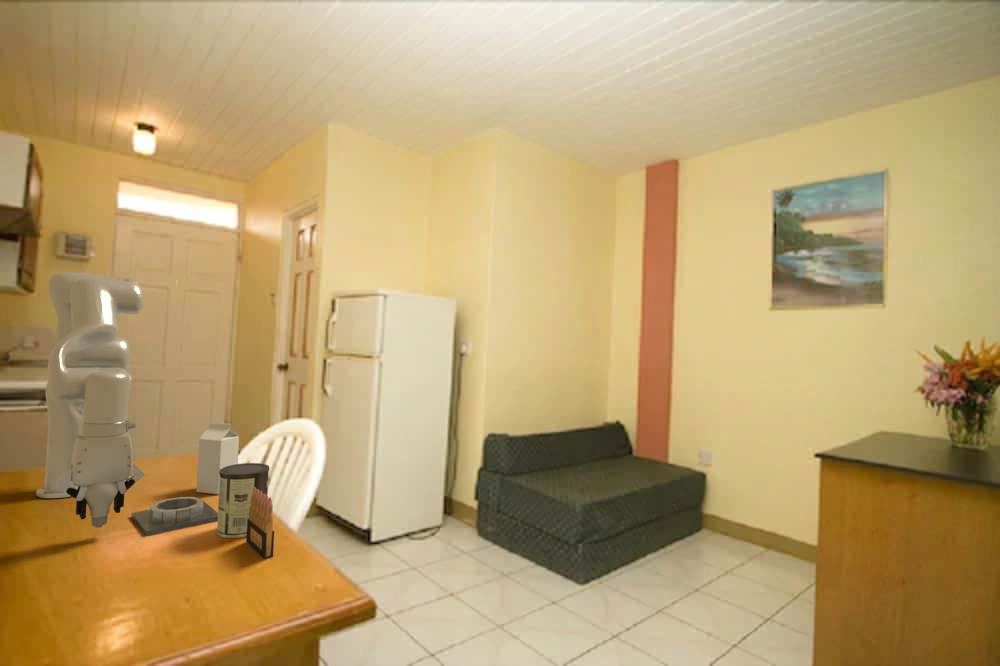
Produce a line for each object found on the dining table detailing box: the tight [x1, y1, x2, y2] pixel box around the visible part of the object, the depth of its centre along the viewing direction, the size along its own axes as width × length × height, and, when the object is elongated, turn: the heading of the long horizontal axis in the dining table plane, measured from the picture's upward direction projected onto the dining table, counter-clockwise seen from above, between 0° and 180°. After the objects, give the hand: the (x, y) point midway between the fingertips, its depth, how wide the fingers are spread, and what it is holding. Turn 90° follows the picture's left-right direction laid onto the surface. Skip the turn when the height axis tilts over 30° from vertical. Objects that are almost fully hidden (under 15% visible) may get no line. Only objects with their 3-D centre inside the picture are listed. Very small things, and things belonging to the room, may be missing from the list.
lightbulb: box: [84, 482, 119, 529], centre depth 105 cm, size 6×6×11 cm
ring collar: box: [131, 496, 218, 537], centre depth 118 cm, size 15×15×4 cm
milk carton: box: [196, 422, 240, 495], centre depth 140 cm, size 7×7×19 cm
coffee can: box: [216, 462, 270, 539], centre depth 113 cm, size 10×10×14 cm
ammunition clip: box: [245, 487, 275, 559], centre depth 104 cm, size 11×2×12 cm, turn 45°
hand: (99, 513), depth 105 cm, fingers closed on lightbulb, 5 cm apart
